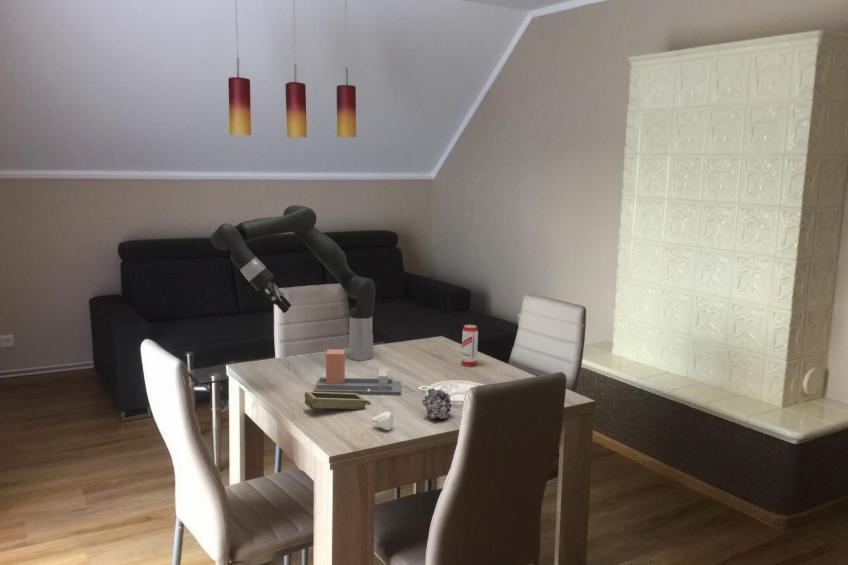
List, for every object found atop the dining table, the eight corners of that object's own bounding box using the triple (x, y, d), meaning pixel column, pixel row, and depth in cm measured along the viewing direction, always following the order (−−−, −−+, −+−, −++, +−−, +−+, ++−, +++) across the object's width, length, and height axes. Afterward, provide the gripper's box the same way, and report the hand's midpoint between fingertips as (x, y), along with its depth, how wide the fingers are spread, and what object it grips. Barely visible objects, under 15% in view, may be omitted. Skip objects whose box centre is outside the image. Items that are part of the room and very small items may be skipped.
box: (301, 405, 233) (304, 391, 232) (363, 406, 245) (365, 392, 244) (311, 414, 226) (313, 398, 225) (374, 414, 238) (376, 400, 237)
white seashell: (375, 424, 222) (375, 407, 221) (393, 426, 220) (394, 409, 219) (368, 430, 217) (369, 413, 216) (387, 433, 215) (388, 415, 214)
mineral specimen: (426, 394, 240) (433, 373, 232) (454, 406, 238) (461, 386, 231) (411, 422, 230) (417, 402, 223) (439, 436, 229) (446, 416, 221)
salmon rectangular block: (326, 387, 252) (326, 353, 250) (327, 381, 258) (328, 349, 256) (343, 387, 252) (343, 354, 250) (344, 382, 258) (344, 349, 256)
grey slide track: (313, 393, 249) (313, 376, 248) (317, 383, 261) (317, 366, 260) (400, 395, 250) (400, 377, 249) (400, 384, 262) (400, 368, 261)
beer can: (468, 361, 294) (469, 323, 291) (480, 365, 290) (481, 326, 287) (457, 364, 290) (459, 325, 287) (469, 368, 285) (471, 328, 283)
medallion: (483, 412, 237) (483, 405, 236) (406, 400, 246) (406, 394, 245) (500, 391, 258) (501, 385, 258) (429, 381, 267) (430, 375, 267)
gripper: (262, 268, 240) (294, 305, 242) (267, 264, 254) (298, 299, 256) (245, 283, 240) (277, 319, 242) (251, 278, 254) (282, 313, 256)
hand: (288, 309), depth 249 cm, fingers open, 8 cm apart
